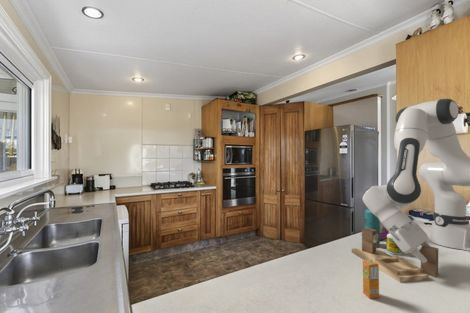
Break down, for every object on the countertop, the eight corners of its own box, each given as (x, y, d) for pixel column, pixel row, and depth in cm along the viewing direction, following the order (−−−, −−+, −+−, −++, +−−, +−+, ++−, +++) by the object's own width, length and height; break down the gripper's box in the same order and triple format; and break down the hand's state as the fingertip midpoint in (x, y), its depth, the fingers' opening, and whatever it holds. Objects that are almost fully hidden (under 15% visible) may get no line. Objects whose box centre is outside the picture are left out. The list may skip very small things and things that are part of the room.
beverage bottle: (376, 242, 111) (376, 200, 111) (383, 248, 105) (383, 203, 105) (361, 241, 112) (362, 200, 112) (368, 247, 105) (368, 203, 105)
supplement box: (361, 292, 70) (361, 259, 70) (372, 291, 71) (372, 259, 71) (368, 299, 67) (369, 264, 67) (379, 298, 67) (380, 264, 67)
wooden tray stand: (374, 250, 102) (374, 226, 102) (428, 279, 78) (428, 248, 78) (351, 252, 100) (351, 227, 100) (399, 282, 76) (400, 250, 76)
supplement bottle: (400, 251, 101) (401, 229, 101) (402, 256, 96) (402, 233, 96) (386, 249, 104) (386, 227, 104) (387, 253, 99) (387, 230, 99)
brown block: (421, 268, 86) (421, 244, 86) (438, 273, 82) (438, 248, 82) (417, 271, 83) (418, 246, 83) (435, 277, 80) (435, 251, 80)
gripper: (394, 224, 82) (430, 262, 74) (412, 215, 94) (444, 247, 87) (380, 233, 85) (412, 270, 78) (399, 223, 98) (429, 254, 90)
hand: (429, 258), depth 82 cm, fingers open, 8 cm apart
